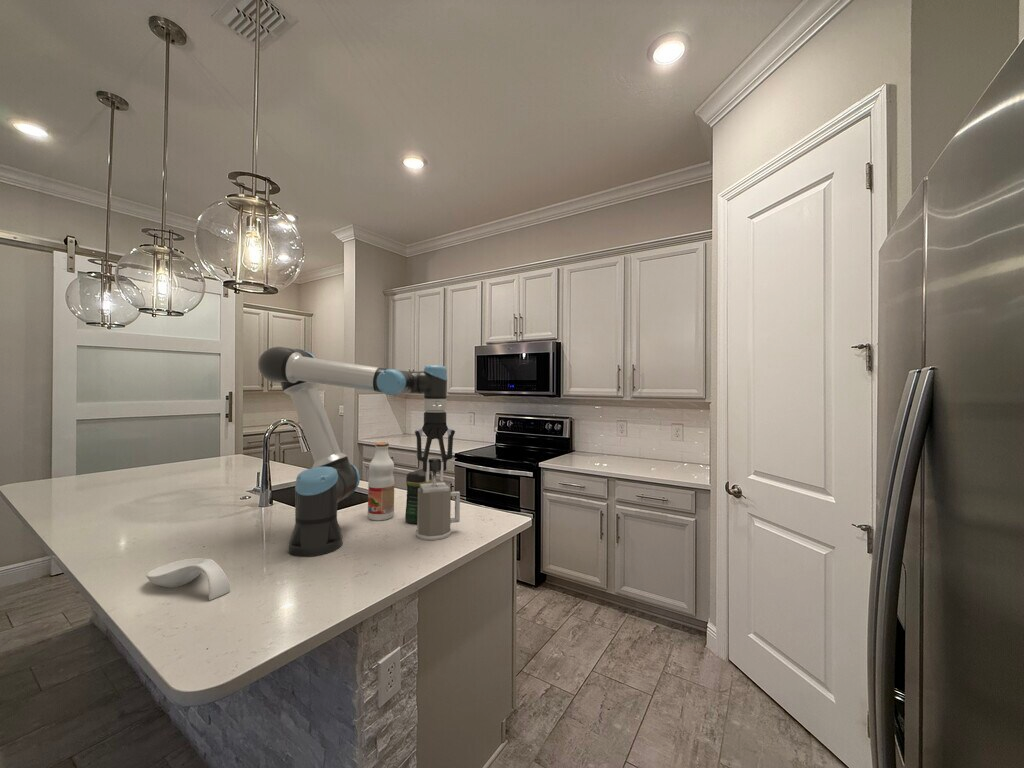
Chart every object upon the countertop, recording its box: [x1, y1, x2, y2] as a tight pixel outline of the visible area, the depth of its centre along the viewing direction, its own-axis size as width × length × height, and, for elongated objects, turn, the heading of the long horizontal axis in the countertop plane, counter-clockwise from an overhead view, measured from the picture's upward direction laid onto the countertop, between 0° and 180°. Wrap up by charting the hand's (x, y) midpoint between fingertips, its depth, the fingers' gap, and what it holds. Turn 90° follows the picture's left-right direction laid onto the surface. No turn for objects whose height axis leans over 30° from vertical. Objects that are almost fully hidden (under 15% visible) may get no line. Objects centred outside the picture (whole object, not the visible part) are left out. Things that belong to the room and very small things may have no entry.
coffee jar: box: [404, 468, 433, 524], centre depth 154 cm, size 10×8×19 cm
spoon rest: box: [146, 557, 231, 601], centre depth 103 cm, size 24×12×7 cm, turn 66°
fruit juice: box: [367, 441, 395, 521], centre depth 158 cm, size 9×9×28 cm
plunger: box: [428, 457, 442, 487], centre depth 140 cm, size 8×8×20 cm
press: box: [415, 481, 461, 541], centre depth 141 cm, size 14×12×16 cm
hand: (434, 480), depth 140 cm, fingers closed on plunger, 4 cm apart
